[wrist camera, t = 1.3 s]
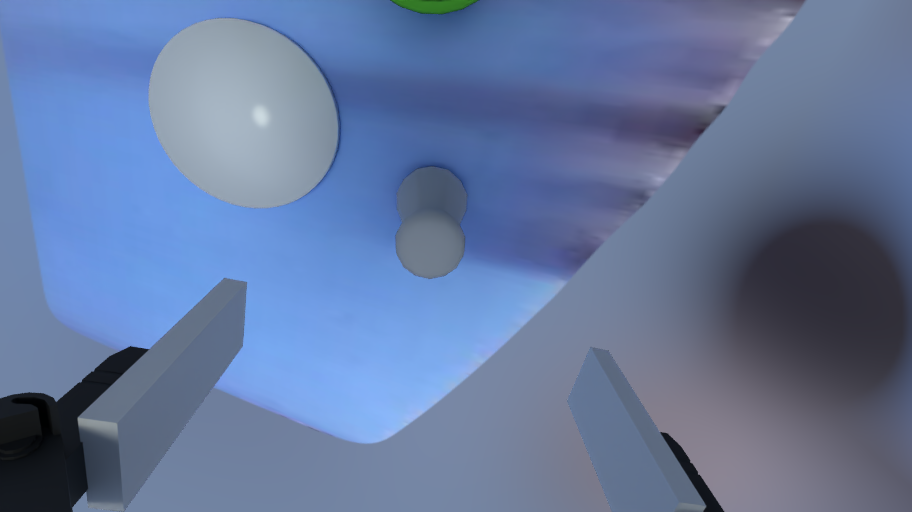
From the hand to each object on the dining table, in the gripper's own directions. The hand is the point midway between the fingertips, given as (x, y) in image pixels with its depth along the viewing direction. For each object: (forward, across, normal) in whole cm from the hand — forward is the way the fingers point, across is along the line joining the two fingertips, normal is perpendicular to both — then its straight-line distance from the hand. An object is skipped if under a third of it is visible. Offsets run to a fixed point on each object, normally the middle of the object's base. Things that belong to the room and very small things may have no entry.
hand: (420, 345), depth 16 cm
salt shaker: (+23, 0, 0) cm, 23 cm away
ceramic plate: (+23, -15, +3) cm, 27 cm away
